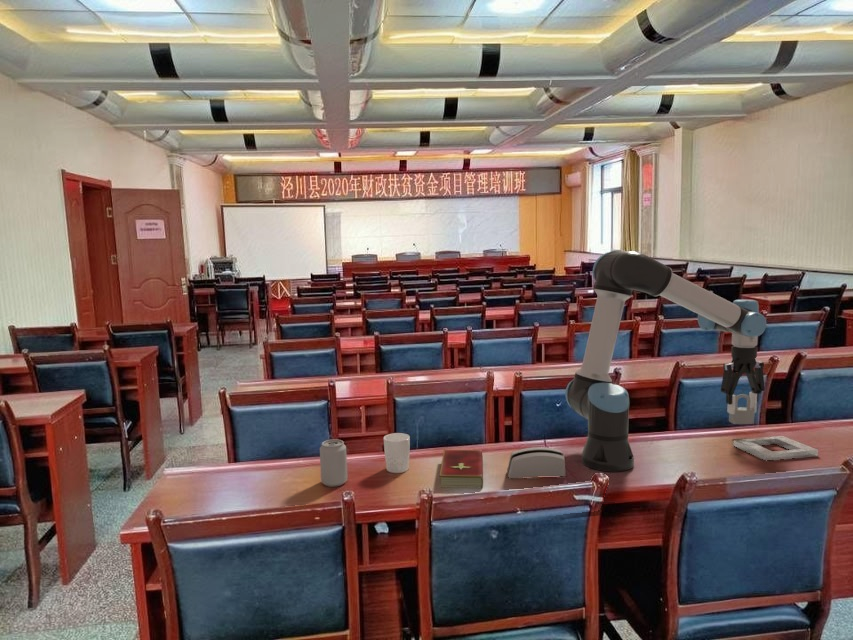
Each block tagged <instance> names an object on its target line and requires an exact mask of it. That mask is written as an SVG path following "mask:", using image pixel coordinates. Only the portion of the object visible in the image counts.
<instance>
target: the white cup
mask: <svg viewBox="0 0 853 640" xmlns="http://www.w3.org/2000/svg"><path fill="white" fill-rule="evenodd" d="M410 437H411V436H410V435H409V434H407V433H402V432H394V433H389V434H386V435H384V436H383V449H384V457H385V460H384V461H385V466H386V471H387V472H389V473H392V474H401V473H405V472H407V471H408V470H409V465H410V464H409V463H410V452H411V451H410V450H411V449H410V446H411V445H410V442H411V441H410V440H411V439H410Z"/></svg>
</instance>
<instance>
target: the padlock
mask: <svg viewBox="0 0 853 640" xmlns="http://www.w3.org/2000/svg"><path fill="white" fill-rule="evenodd" d="M741 398H745V399H746V406H745V407H744V406H742V407H741V406H740V407H738V405H739V404H738V403H739V400H740V399H741ZM754 412H755V410H754V409H752V408H750V397H749V395H748V394H745V393H742V394H741V393H740V394H737V395H736V396H735V414H730V413H728V422H729V423H731V424H733V425H751V424H752V425H753V424H755V413H754Z"/></svg>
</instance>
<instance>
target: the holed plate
mask: <svg viewBox="0 0 853 640" xmlns="http://www.w3.org/2000/svg"><path fill="white" fill-rule="evenodd" d="M732 444H733V445H732V446H733V447H734V446H735V447H734V448H736V447H737V449H739V450H741V451H743V452H745V451H746V452H745V453H748V454H749V453H750V455H751V454H752V456H753V455H754V457H756V458H757V459H760V460H762V459H763V460H762V461H764V460H766V461H765V462H768V461H767V460H774V461H780V459H784V460H792V458H795V459H803V458H814V457H818V456H819V449H817V448H814V447H811V446H809V445H807V444H804V443H802V442H799V441H797V440H794V439H792V438H789V437H787V436H784V435H778V436H775V435H773V436H764V437H754V438H753V437H752V438H742V439H734V440H733V443H732ZM770 444H777V445H776V446H778V445H779V446H778V447H781V446H782V447H781V448H783V447H784V448H783V449H785V448H786V449H785V450H777V451H773V450H771V449H768V448H766V447H764V446H762V445H765V446H771V445H770ZM788 449H789V450H788Z"/></svg>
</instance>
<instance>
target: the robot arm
mask: <svg viewBox="0 0 853 640" xmlns="http://www.w3.org/2000/svg"><path fill="white" fill-rule="evenodd" d="M592 276H593V279H594V281H595V283H594V287H593V288H594V289H593V290H594V293H596V295H597V297H596V302H595V305H594V310H593V311H594V312H593V314H592V319H591V324H590V327H589V332H588V333H589V334H588V338H587V342H586V345H585V346H586V347H585V351H584V355H583V360H582V365H581V367H580V368H579V369H578V370H576V371H575V373H574V378H573V379H571V381H570V382H569V383H568V384H567V386H566V388H565V393H564V394H565V400H566V402H567V404H568V406H569V408H571V409H572V410H573V412H575V413H576V414H578V415H579V416H581V417H583V418H584V419H585V420H587V438H586V441H585V444H584V447H583V449H582V452H581V462H582V464H583V465H585V466H586V467H587V468H588V467H589V468H590V469H593V470H597V471H603V472H610V473H611V472H623V471H624V472H625V471H628V470H631V469H632V468H634V467H635V457H634V453H633V451H632V448H631V444H630V441H629V419H630V418H629V416H630V415H629V414H630V413H629V411H630V397H629V392H628V390H627V389H625V387H623V386H621V385H618V384H614V383H612V382H613V379H612V378H611V376H610V374H609V373H610V368H611V364H612V361H613V357H614V351H615V347H616V342H617V337H618V333H619V330H620V329H619V328H620V325H621V321H622V320H621V319H622V315H623V313H624V307H625V303H626V301H627V300H629V299H630V298H632V295H633V291H636V292H642V293H646V294H648V295H649V296H652V297H658V296H660V297H662V298H664V299H666V300H668V301H669V302H670V301H671V302H673V303H674V304H677V305H679V306H680V307H683V308H685V309H687V310H688V311H691V312H693V313H694V314H695V313H696V314H697V323H698V325H699V328H700V329H702V330H703V331H711V332H712V331H720V332H724V333H730V334H731V345H732V346H731V351H730V352H731V355H730V356H731V358H732V360H731V361H730V363H723V364H722V367H723V374H722V379H721V387H720V392H721V393H723V394H725V404H727V408H726V409H727V410H726V411H727V412H726V413H728V414H729V413H730V414H735V397H736V396H737V395H736V394H734V393H735V390H736V388H737V386H738V383H739V380H740V379H741V377H742V376H743V375H744V374H745V375H746V378H747V381H748V384H749V386H750V390H751V391H749V393H748V394H749V395H748V396H749V397H750V408H752V409H754V410H755V412H754V413H757V407H758V402H759V398H760V397H759V396H760V395H761V394H762V392H764V391H765V376H764V375H765V374H764V366H765V363H764V362H763V361H758V360H756V358H757V357H758V347H757V345H758V340H759V339H758V337H759V336H761V335H763V333H764V332H765V331H766V328H767V324H768V323H767V319H766V317H765V316H764V315H763V314H762V313H760V309H759V308H760V307H759V306H760V305H759V301H758V300H754V299H735V300H733V302H731V301H730V300H727V299H726V298H724V297H721V296H720V295H717V294H715V293H713V292H712V291H709V290H708V289H705V288H703V287H701V286H700V285H698V284H695V283H693V282H692V281H690V280H688V279H686V278H684V277H682V276H680V275H677V274H676V273H674V272H673V270H672V268H671V267H670V266H667V265H665V264H663V263H662V262H660V261H658V260H656V259H655V258H652V257H651V256H649V255H647V254H644V253H642V252H639V251H634V250H628V251H627V250H612V251H609V252H605V253H603V254H601V255H600V256H599V257H598V258H597V259H596V260H595V262H594V264H593V267H592Z"/></svg>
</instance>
